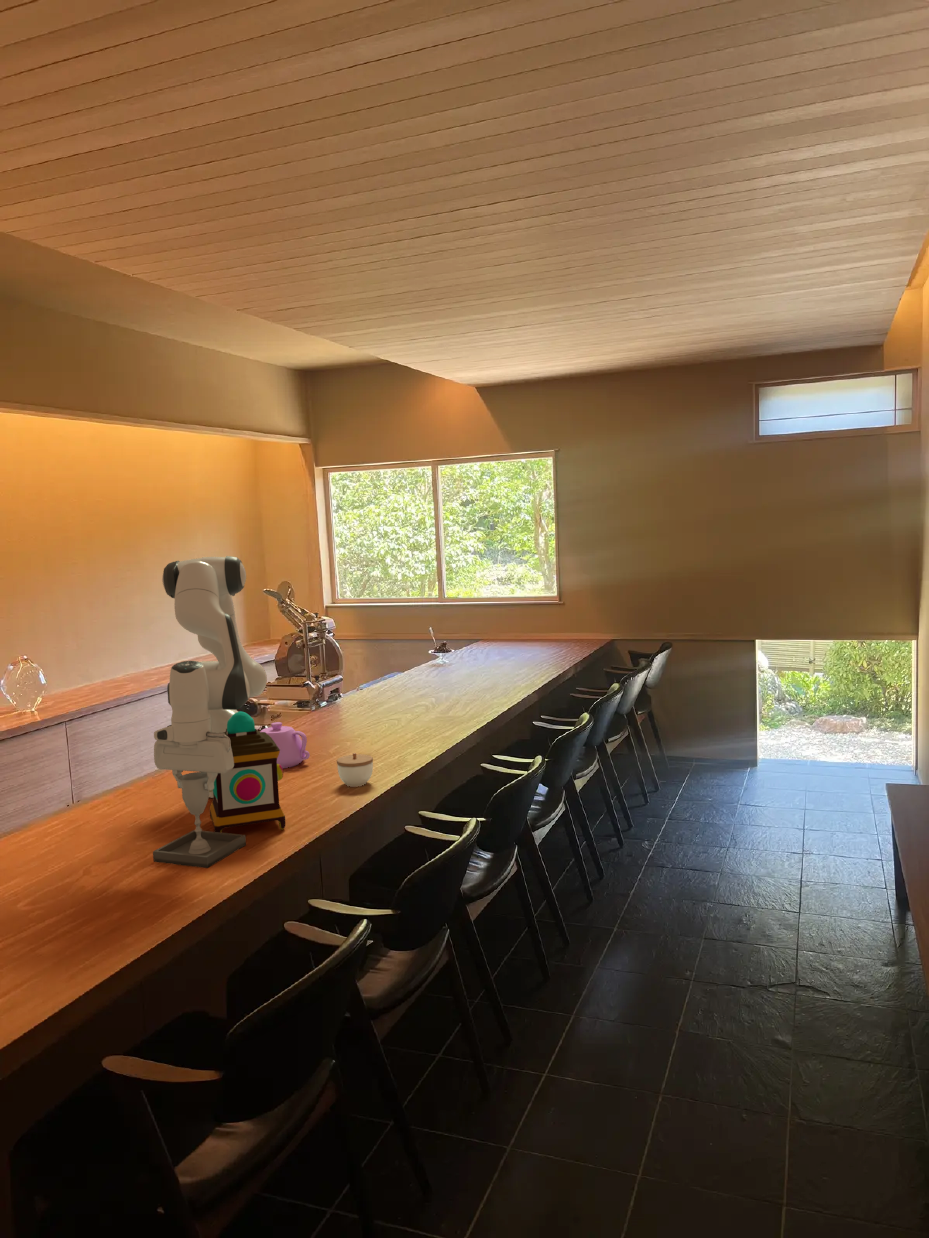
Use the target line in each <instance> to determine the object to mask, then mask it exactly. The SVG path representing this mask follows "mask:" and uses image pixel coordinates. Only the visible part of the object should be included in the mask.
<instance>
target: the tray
mask: <svg viewBox="0 0 929 1238" xmlns="http://www.w3.org/2000/svg"><path fill="white" fill-rule="evenodd" d="M195 830H196V829H193V830H191V831H190V832H187V833H186V834H183V835H181V836H180V837H178V838H176V839H174V840H172V841H170V842H168V843H166V844H165V845H162V846H161V847H159V848H156V849H155V850H153V851H152V858H153V863H158V864H159V863H161V864H169V865H178V866H186V867H193V868H194V867H197V868H203V869H204V868H205V869H208V868H210V867H212V866H214V865H215V864H217V863H218V862H220V861H222V860H223V859H225V858H227V857H229V856H230V855H232V854H233V853H235V852H237V851H238V850H240V849H242V848H243V847H245V846H247V841H246V840H247V839H246V834H238V833H230V832H229V833H228V832H221V833H220V832H215V831H207V830H202V831H201V838H202V839H205V840H206V841H207V843H208V844H209V847H210V848H211V850H210V851H208V852H206V853H202V854H190V853H189V850H190V846H191V843H192V842H193V841H194V840H195V839H196V837H197V834H196V832H195Z"/></svg>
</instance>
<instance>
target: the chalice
mask: <svg viewBox="0 0 929 1238" xmlns="http://www.w3.org/2000/svg"><path fill="white" fill-rule="evenodd" d="M208 779H209V777H207V772H195V771H193V772H189V773H185V774H182V776H180V777H179V780H180V781H181V785H182V788H181V794H182V795H181V797H182V800H183V803H184V805H185V807H186V808H187V810H188V812H189V813H190V815H193V816H194V817H195V818H194V819H195V820H194V825H195V829H194V830H195V832H196V834H197V837H196V839H195V840H194V841H193V842H192V843H191V846H190V850H189V853H190V854H202V853H206V852H208V851H210V850H211V848H210V847H209V844H208V843H207V841H206V840H205V839H202V838H201V831H203V829H202V827H201V824H202V821H201V819H200V816H201V815H202V814H203V813H204V811H205V809H206V807H207V804H208V801H209V798H210V797H209V791H207V790H205V789H204V788H205V787H204V783H207V782H208Z"/></svg>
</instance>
